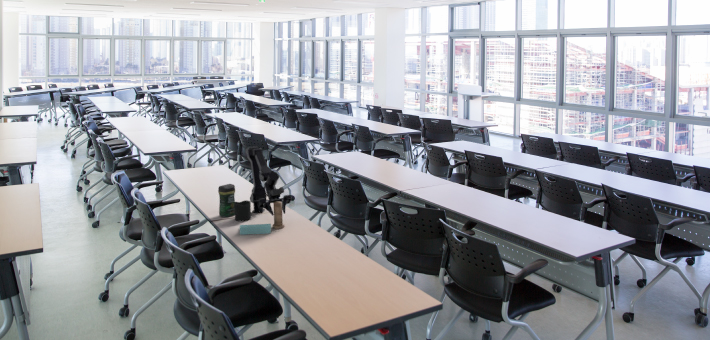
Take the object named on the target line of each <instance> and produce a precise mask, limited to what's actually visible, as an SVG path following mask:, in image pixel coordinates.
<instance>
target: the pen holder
mask: <svg viewBox="0 0 710 340" xmlns="http://www.w3.org/2000/svg"><path fill="white" fill-rule="evenodd" d="M251 204H252V202H250V200H242V201H235V202H234V211H235V215H234V219H235V220H236V221H237V222H246V221H249V220H251V218H252V217H251V216H252V215H251V214H252V211H251V209H252V207H251V206H252V205H251Z"/></svg>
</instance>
